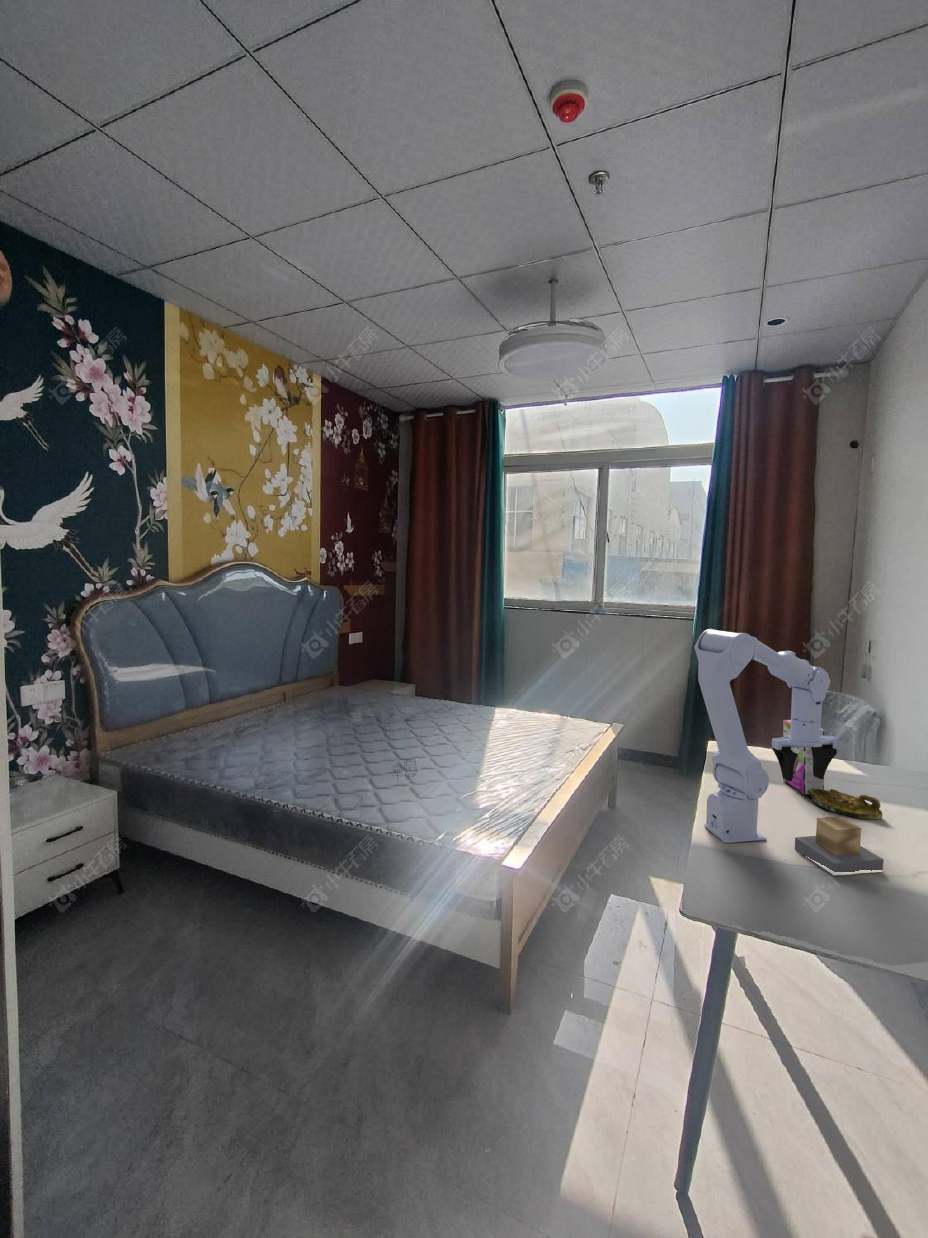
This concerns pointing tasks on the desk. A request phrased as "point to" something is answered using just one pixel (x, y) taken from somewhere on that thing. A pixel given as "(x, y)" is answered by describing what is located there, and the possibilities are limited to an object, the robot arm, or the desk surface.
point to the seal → (847, 803)
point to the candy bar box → (803, 766)
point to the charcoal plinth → (838, 857)
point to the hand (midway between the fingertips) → (802, 778)
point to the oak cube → (838, 835)
